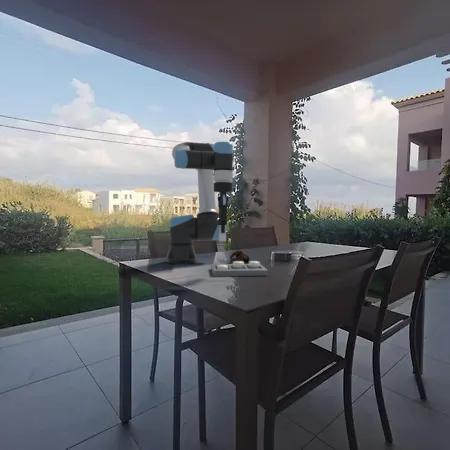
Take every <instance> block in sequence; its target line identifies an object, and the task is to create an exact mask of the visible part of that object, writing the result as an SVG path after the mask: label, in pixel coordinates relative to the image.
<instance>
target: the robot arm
mask: <svg viewBox="0 0 450 450" xmlns="http://www.w3.org/2000/svg"><path fill="white" fill-rule="evenodd" d="M233 147H234V146H233V143H232V142H229V141H217V142H215V143H210V142H205V143H204V142H190V141H187V142H181V143H178V144H176V145H175V146H174V147H173V148H172V152H171V155H172V159H173V160H174V167H175V168H176V169H188V170H196V171H197V183H198V184H197V186H198V208H199V209H198V210H199V212H198V213H196V217H194V215H193V214H183V215H179V216H178V215H177V216H172V217H170V220H169V226H168V227H169V248H168V251H167V254H166V258H165V262H166V263H167V264H173V265H177V264H178V265H181V264H182V265H183V264H184V265H189V264H195V263H197V261H198V259H197V255H196V252H195V247H194V241H197V242H198V241H200V242H201V241H211V242H212V241H219V242H227V225H228V222H227V221H228V207H229V196H228V195H227V193H232V192H233V183H232V182H233V180H234V179H233V177H234V174H233V173H234V171H233V169H234V168H233V167H234V166H233V165H234V164H233V163H234V148H233ZM216 193H219V196H217V203H218V205H217V207H218V211H217V209H216Z"/></svg>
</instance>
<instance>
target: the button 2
mask: <svg viewBox="0 0 450 450" xmlns="http://www.w3.org/2000/svg"><path fill="white" fill-rule="evenodd" d="M248 264H249V268H252V269H258V268H259V267H260V264H261V262H260V261H257V260H250V261H249V263H248Z"/></svg>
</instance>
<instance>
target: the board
mask: <svg viewBox="0 0 450 450" xmlns="http://www.w3.org/2000/svg"><path fill="white" fill-rule="evenodd" d="M217 265H227V266H228V269H217ZM210 268H211V273H212V275H213V277H253V276H254V277H256V276H257V277H259V276H260V277H261V276H263V277H264V276H269V269H267V268H265V266H264V265H262V264H261V263H260V267H259V268H258V269H252V268H249V263H244V268H243V269H234V268H233V264H230V263H211V265H210Z"/></svg>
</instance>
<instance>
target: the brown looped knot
mask: <svg viewBox="0 0 450 450" xmlns="http://www.w3.org/2000/svg"><path fill="white" fill-rule="evenodd" d="M234 261H242V262H244V264H249V261H251V260H250V257H249V255H248V254H247V253H246V252H244V250H241V249H239V250H236V251H233V252H232V253H231V254H230V255H229V264H233V262H234Z"/></svg>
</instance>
